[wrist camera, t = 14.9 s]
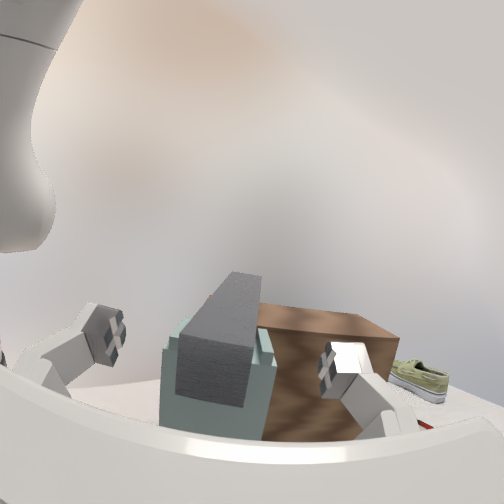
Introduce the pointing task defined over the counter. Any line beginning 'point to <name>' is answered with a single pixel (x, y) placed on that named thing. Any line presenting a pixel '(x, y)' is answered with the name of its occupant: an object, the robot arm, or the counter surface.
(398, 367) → the boat shoe
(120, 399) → the counter surface
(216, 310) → the bar
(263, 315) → the brown wooden block
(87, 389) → the counter surface
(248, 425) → the socket post
